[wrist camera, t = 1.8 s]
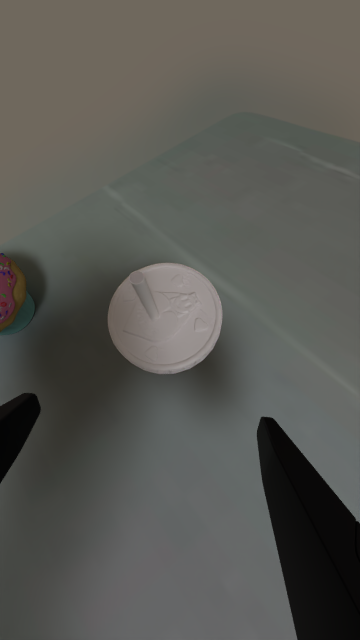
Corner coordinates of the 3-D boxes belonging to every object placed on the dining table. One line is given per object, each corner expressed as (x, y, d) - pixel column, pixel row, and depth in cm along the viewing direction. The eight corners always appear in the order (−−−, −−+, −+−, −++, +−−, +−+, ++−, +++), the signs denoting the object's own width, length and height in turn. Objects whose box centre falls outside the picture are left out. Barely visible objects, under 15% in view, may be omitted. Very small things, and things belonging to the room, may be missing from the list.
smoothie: (132, 331, 22) (44, 237, 9) (191, 305, 23) (193, 180, 9) (157, 394, 20) (93, 395, 7) (221, 364, 21) (276, 311, 7)
